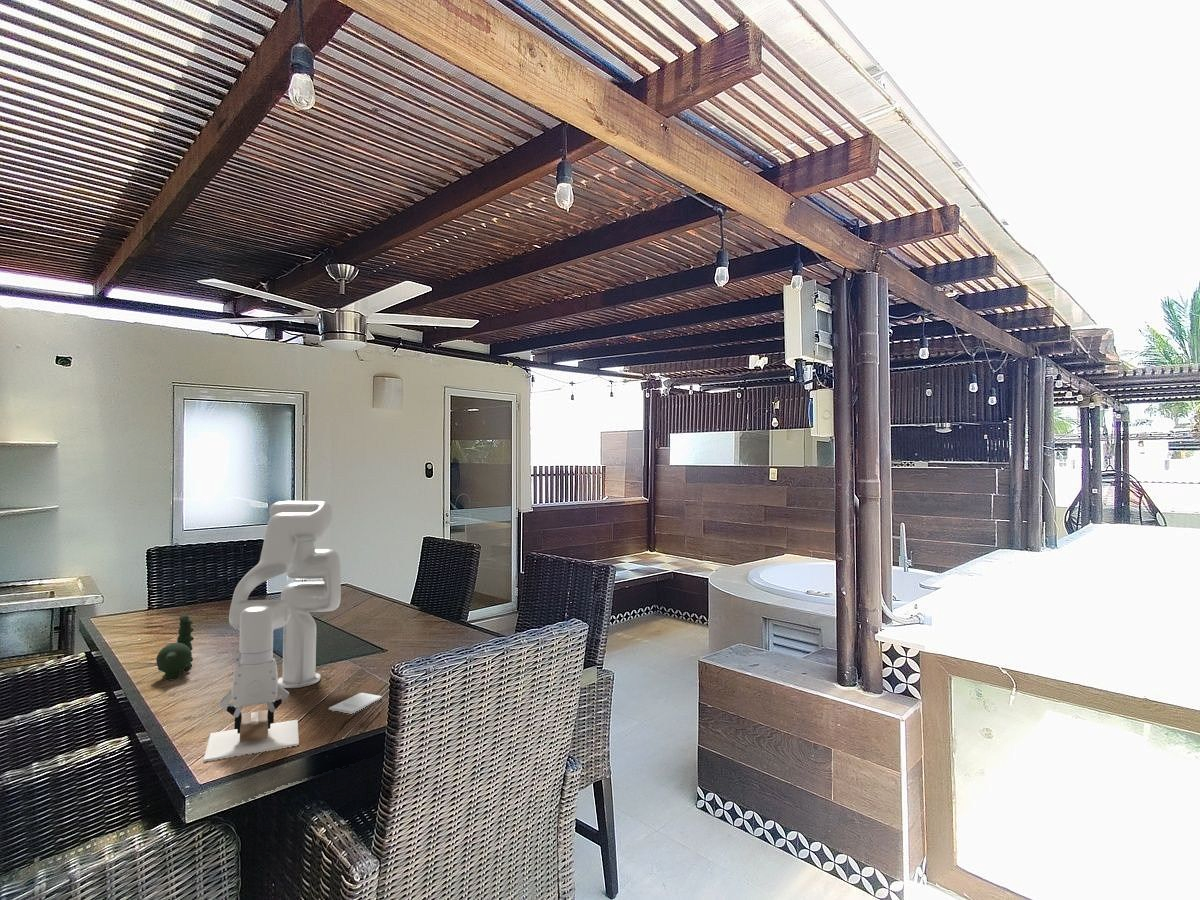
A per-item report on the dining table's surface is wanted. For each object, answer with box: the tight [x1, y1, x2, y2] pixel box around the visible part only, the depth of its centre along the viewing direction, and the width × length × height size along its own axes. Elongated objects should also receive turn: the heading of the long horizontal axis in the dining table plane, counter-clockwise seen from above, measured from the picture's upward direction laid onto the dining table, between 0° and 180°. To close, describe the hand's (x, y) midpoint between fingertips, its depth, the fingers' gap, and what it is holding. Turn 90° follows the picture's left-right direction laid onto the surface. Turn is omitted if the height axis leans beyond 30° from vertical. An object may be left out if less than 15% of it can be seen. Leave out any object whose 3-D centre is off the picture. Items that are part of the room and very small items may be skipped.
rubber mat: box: [203, 719, 300, 763], centre depth 157 cm, size 16×20×1 cm
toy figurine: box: [155, 613, 194, 681], centre depth 207 cm, size 9×19×25 cm
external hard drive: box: [328, 692, 383, 715], centre depth 181 cm, size 2×8×12 cm
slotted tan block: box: [240, 709, 269, 743], centre depth 157 cm, size 6×10×4 cm, turn 28°
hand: (254, 728), depth 157 cm, fingers closed on slotted tan block, 5 cm apart
